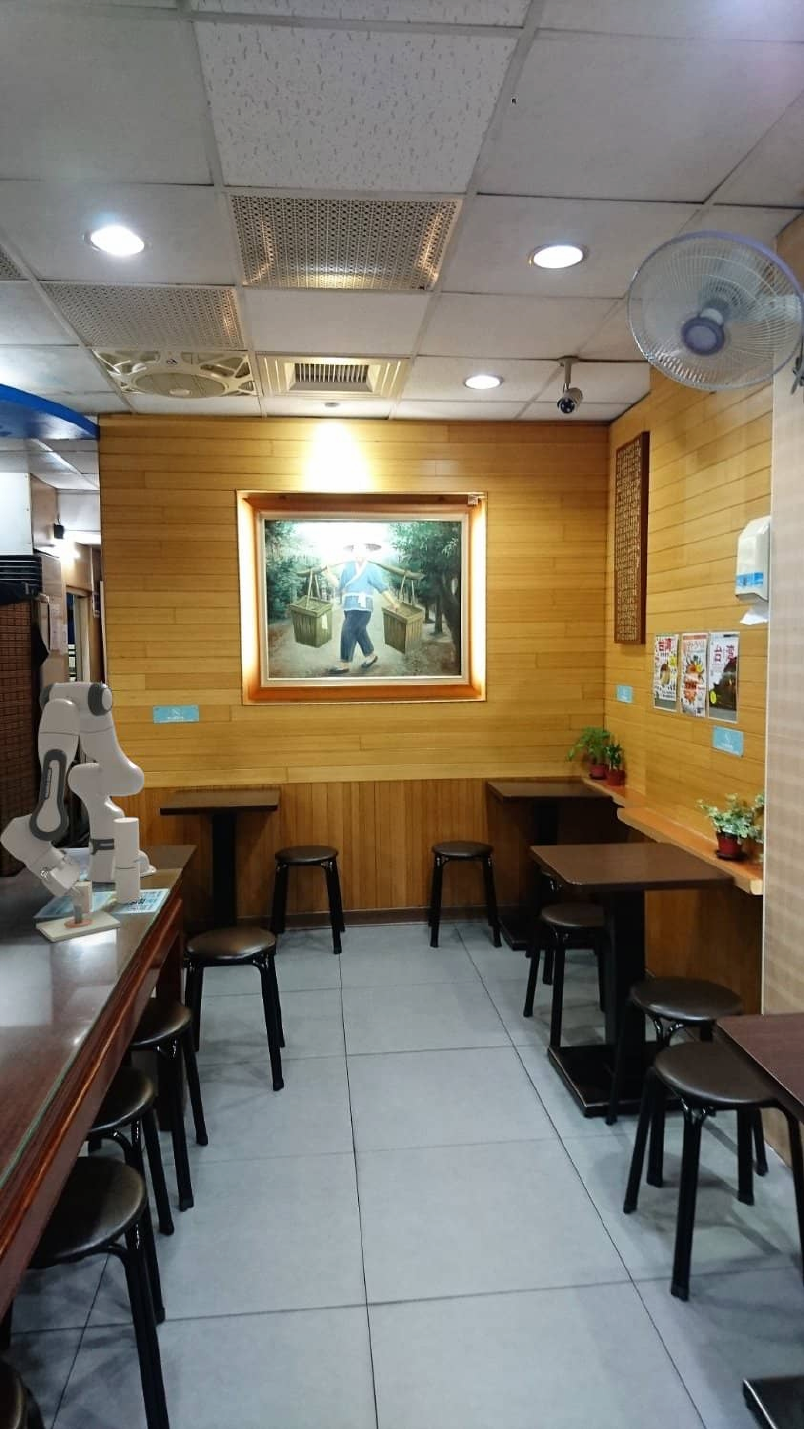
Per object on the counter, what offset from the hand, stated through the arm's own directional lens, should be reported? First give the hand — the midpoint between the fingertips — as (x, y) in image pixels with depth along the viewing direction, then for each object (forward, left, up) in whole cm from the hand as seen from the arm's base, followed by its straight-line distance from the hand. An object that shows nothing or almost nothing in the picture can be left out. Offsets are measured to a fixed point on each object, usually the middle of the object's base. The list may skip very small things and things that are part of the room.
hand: (84, 895), depth 229 cm
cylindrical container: (-13, -1, -5) cm, 14 cm away
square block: (+1, 0, -5) cm, 5 cm away
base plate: (+7, +14, -5) cm, 16 cm away
